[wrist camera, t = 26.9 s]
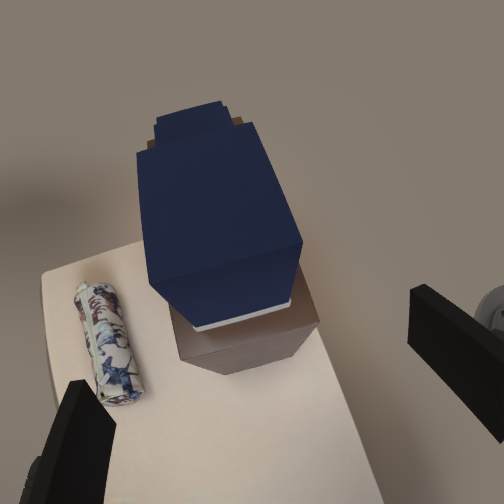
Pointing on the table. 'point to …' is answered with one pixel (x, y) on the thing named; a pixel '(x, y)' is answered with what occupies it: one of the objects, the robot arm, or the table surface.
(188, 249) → the blue blocks on base
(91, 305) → the pencil case
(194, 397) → the table surface
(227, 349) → the brown box
